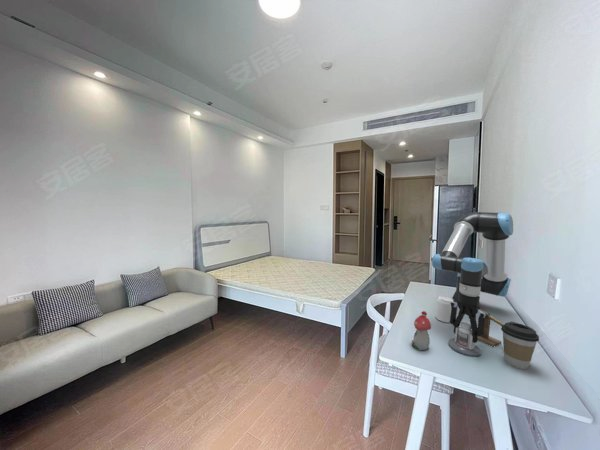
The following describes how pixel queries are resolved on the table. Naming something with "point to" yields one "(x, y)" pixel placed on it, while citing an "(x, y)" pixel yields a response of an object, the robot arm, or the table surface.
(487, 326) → the balance
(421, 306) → the table surface
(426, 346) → the decorative ornament
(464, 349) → the flat grey disc
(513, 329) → the coffee cup
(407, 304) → the table surface
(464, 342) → the pill bottle
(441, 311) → the beverage can
